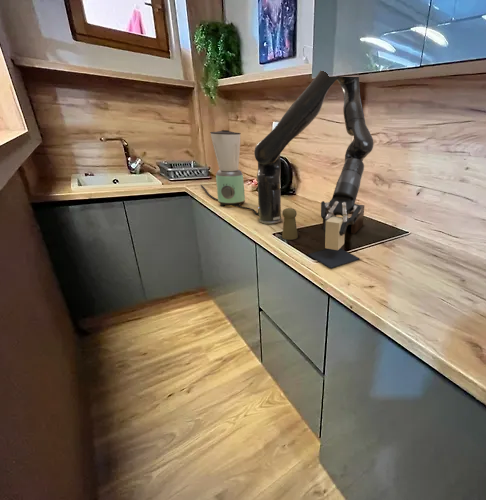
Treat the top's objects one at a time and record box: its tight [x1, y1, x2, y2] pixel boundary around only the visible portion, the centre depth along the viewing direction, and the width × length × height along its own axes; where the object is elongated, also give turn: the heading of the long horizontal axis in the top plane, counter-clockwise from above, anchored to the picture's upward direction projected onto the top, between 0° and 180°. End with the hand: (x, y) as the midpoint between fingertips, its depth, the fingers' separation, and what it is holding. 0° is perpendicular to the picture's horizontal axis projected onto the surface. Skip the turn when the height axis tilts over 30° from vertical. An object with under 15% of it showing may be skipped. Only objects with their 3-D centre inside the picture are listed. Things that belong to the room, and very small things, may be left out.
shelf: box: [322, 203, 365, 235], centre depth 127 cm, size 12×14×9 cm
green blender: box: [209, 129, 246, 207], centre depth 149 cm, size 19×13×35 cm
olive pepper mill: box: [281, 207, 299, 241], centre depth 113 cm, size 6×6×11 cm
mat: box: [307, 248, 360, 270], centre depth 100 cm, size 12×12×1 cm
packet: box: [324, 215, 346, 250], centre depth 96 cm, size 4×6×9 cm
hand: (333, 233), depth 94 cm, fingers closed on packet, 4 cm apart
